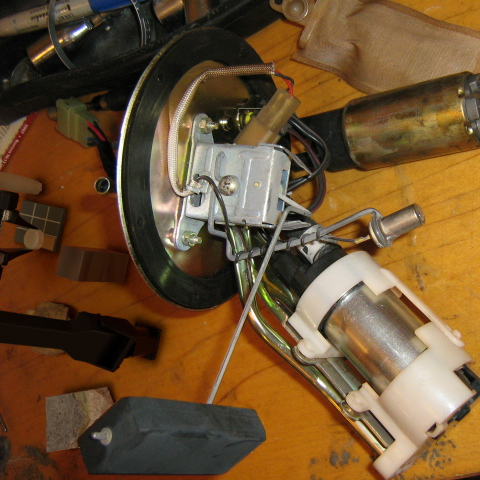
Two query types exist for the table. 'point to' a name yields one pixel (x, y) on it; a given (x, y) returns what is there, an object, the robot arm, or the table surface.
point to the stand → (92, 264)
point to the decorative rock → (51, 312)
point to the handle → (19, 183)
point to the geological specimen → (73, 416)
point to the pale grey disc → (33, 239)
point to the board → (42, 223)
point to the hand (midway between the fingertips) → (34, 239)
